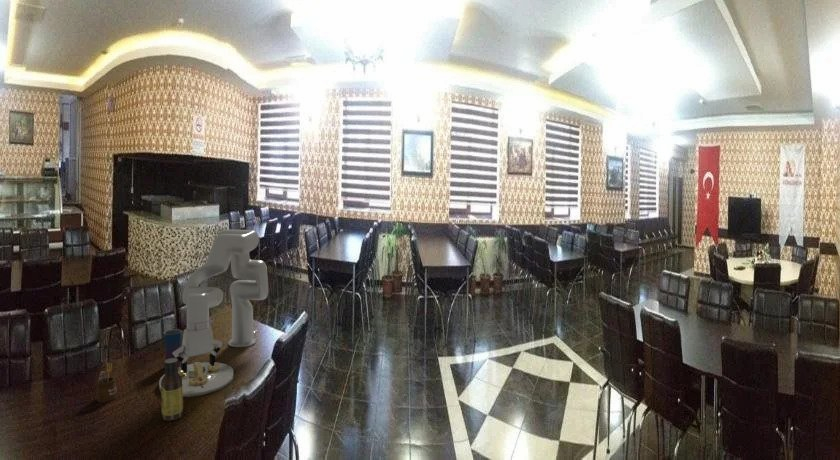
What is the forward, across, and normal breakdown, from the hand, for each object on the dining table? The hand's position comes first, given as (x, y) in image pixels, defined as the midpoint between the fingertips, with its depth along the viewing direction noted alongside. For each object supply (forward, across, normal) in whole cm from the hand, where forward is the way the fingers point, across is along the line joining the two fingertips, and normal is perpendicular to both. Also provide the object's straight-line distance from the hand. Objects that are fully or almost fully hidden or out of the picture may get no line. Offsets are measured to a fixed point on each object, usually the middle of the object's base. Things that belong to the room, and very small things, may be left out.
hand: (198, 368), depth 163 cm
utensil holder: (+8, +27, -12) cm, 31 cm away
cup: (+8, +2, -28) cm, 29 cm away
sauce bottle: (+8, +13, +16) cm, 22 cm away
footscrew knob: (+6, 0, 0) cm, 6 cm away
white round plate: (+8, -2, -6) cm, 10 cm away
